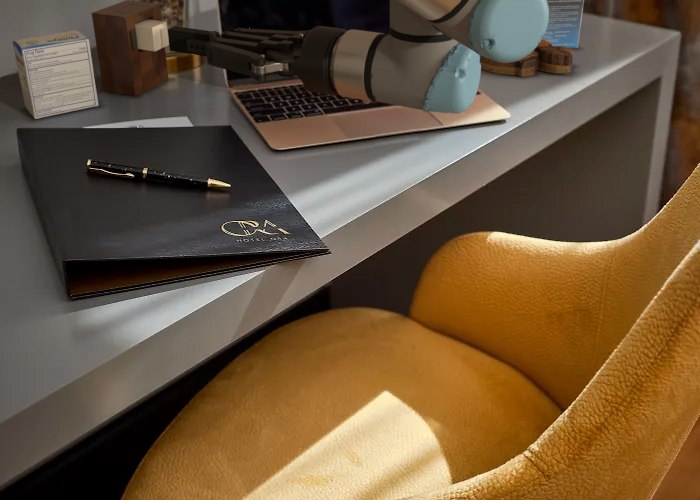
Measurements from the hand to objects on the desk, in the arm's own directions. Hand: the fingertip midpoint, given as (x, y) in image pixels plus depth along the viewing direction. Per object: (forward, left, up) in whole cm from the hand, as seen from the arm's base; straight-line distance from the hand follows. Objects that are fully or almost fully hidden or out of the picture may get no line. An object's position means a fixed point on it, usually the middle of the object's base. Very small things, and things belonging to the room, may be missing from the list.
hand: (172, 38), depth 113 cm
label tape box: (+53, 0, -7) cm, 53 cm away
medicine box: (-14, -1, -7) cm, 16 cm away
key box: (-4, +4, -7) cm, 9 cm away
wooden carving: (+50, -3, -6) cm, 50 cm away
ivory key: (-2, +2, -2) cm, 4 cm away
